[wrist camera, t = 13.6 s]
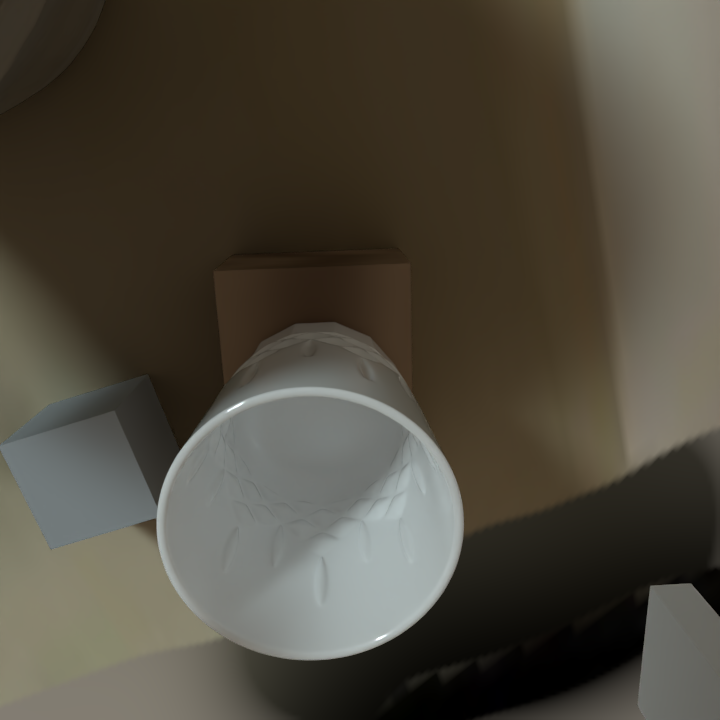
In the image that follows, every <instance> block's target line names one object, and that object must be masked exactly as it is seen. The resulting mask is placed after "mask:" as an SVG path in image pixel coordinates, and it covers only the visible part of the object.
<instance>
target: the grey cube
mask: <svg viewBox="0 0 720 720" xmlns="http://www.w3.org/2000/svg"><path fill="white" fill-rule="evenodd" d="M0 450H1V452H2V454H3V456H4V458H5V460H6V462H7V464H8V466H9V468H10V470H11V472H12V474H13V476H14V478H15V480H16V482H17V484H18V486H19V488H20V490H21V492H22V494H23V496H24V498H25V500H26V502H27V504H28V506H29V508H30V510H31V511H32V513H33V515H34V517H35V519H36V521H37V523H38V525H39V527H40V529H41V531H42V533H43V535H44V537H45V539H46V541H47V543H48V545H49V547H50V549H54V548H58V547H61V546H64V545H68V544H71V543H74V542H78V541H81V540H84V539H88V538H91V537H94V536H98V535H101V534H104V533H108V532H111V531H114V530H118V529H121V528H124V527H128V526H131V525H134V524H138V523H141V522H145V521H148V520H151V519H155V518H157V508H158V502H159V497H160V493H161V489H162V486H163V483H164V480H165V478H166V475H167V473H168V471H169V469H170V467H171V465H172V463H173V461H174V459H175V458H176V456H177V455H178V453H179V452H180V449H179V447H178V445H177V442H176V440H175V438H174V435H173V433H172V430H171V428H170V426H169V423H168V421H167V419H166V416H165V414H164V411H163V409H162V407H161V404H160V402H159V400H158V397H157V395H156V393H155V390H154V388H153V385H152V383H151V381H150V378H149V376H148V374H146V375H143V376H140V377H137V378H133V379H130V380H127V381H124V382H120V383H117V384H114V385H111V386H107V387H104V388H101V389H98V390H95V391H91V392H88V393H85V394H82V395H78V396H75V397H72V398H69V399H66V400H62V401H59V402H56V403H53V404H49V405H48V406H47V407H46V408H44V409H43V410H42V411H41V412H39V413H38V414H37V415H36V416H35V417H33V418H32V419H31V420H30V421H29V422H27V423H26V424H25V425H24V426H22V427H21V428H20V429H19V430H18V431H16V432H15V433H14V434H13V435H11V436H10V437H9V438H8V439H7V440H5V441H4V442H3V443H2V444H1V445H0Z"/></svg>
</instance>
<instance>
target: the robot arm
mask: <svg viewBox="0 0 720 720" xmlns="http://www.w3.org/2000/svg"><path fill="white" fill-rule="evenodd" d="M637 706H638V707H639V709H640V711H641V712H642V714H643V716H644V718H645V720H720V617H719V616H718V615H717V613H716V612H715V611H714V610H713V609H712V608H711V606H710V605H709V604H708V603H707V602H706V601H705V599H704V598H703V597H702V596H701V595H700V594H699V592H698V591H697V590H696V589H695V588H694V587H693V585H692V584H691V583H690V584H673V585H655V586H650V593H649V602H648V612H647V621H646V630H645V639H644V649H643V658H642V667H641V677H640V687H639V695H638V705H637Z"/></svg>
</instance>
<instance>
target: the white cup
mask: <svg viewBox="0 0 720 720" xmlns="http://www.w3.org/2000/svg"><path fill="white" fill-rule="evenodd" d="M463 535H464V511H463V504H462V498H461V494H460V490H459V487H458V484H457V481H456V478H455V476H454V473H453V471H452V469H451V467H450V465H449V463H448V461H447V459H446V457H445V455H444V453H443V451H442V449H441V447H440V446H439V444H438V442H437V440H436V438H435V436H434V434H433V432H432V430H431V428H430V426H429V424H428V422H427V420H426V418H425V415H424V413H423V411H422V409H421V408H420V406H419V404H418V402H417V400H416V399H415V397H414V395H413V394H412V392H411V390H410V388H409V386H408V385H407V383H406V382H405V380H404V379H403V377H402V376H401V374H400V373H399V371H398V370H397V368H396V366H395V364H394V363H393V362H392V361H391V360H390V358H389V357H388V356H387V355H386V354H385V353H384V352H383V351H382V349H381V348H380V347H379V346H378V345H377V344H376V343H375V342H374V340H373V339H372V338H371V337H370V336H367V335H365V334H363V333H360V332H358V331H355V330H353V329H351V328H348V327H346V326H343V325H341V324H339V323H336V322H319V323H296V324H294V325H292V326H290V327H288V328H286V329H284V330H282V331H280V332H278V333H277V334H275V335H273V336H271V337H269V338H267V339H265V340H263V341H262V342H261V343H260V344H259V345H258V347H257V348H256V349H255V351H254V352H253V354H252V355H251V356H250V358H249V359H248V360H247V361H245V362H244V363H243V364H242V365H241V366H240V367H239V368H238V369H237V370H236V372H235V373H234V375H233V376H232V377H231V378H230V380H229V381H228V382H227V383H226V384H225V385H224V387H223V389H222V390H221V392H220V393H219V395H218V396H217V398H216V399H215V400H214V402H213V403H212V405H211V406H210V408H209V409H208V411H207V412H206V414H205V415H204V417H203V418H202V420H201V421H200V423H199V424H198V426H197V427H196V429H195V430H194V431H193V433H192V434H191V436H190V437H189V439H188V440H187V442H186V443H185V445H184V446H183V447H182V449H181V450H180V452H179V453H178V455H177V456H176V458H175V459H174V461H173V463H172V465H171V467H170V469H169V471H168V473H167V475H166V478H165V480H164V483H163V486H162V489H161V493H160V497H159V502H158V508H157V540H158V546H159V551H160V555H161V559H162V562H163V565H164V567H165V570H166V572H167V575H168V577H169V579H170V581H171V583H172V585H173V586H174V588H175V590H176V591H177V593H178V594H179V596H180V597H181V599H182V600H183V601H184V603H185V604H186V605H187V606H188V607H189V608H190V610H191V611H192V612H193V613H194V614H195V615H196V616H197V617H198V618H199V619H201V620H202V621H203V622H204V623H205V624H206V625H208V626H209V627H210V628H211V629H213V630H214V631H216V632H217V633H219V634H220V635H222V636H223V637H225V638H227V639H228V640H230V641H232V642H234V643H236V644H239V645H240V646H243V647H245V648H248V649H250V650H253V651H256V652H259V653H262V654H266V655H270V656H274V657H279V658H285V659H294V660H325V659H334V658H340V657H346V656H350V655H354V654H358V653H361V652H364V651H367V650H370V649H372V648H375V647H377V646H379V645H381V644H384V643H386V642H387V641H390V640H391V639H393V638H394V637H397V636H398V635H400V634H401V633H403V632H404V631H406V630H407V629H408V628H410V627H411V626H412V625H414V624H415V623H416V622H417V621H418V620H419V619H421V617H423V616H424V615H425V614H426V613H427V612H428V611H429V609H430V608H431V607H432V606H433V605H434V604H435V603H436V601H437V600H438V599H439V597H440V596H441V595H442V593H443V591H444V590H445V588H446V587H447V585H448V583H449V581H450V579H451V577H452V575H453V573H454V571H455V568H456V566H457V563H458V560H459V556H460V552H461V548H462V543H463Z"/></svg>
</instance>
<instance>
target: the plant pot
mask: <svg viewBox="0 0 720 720" xmlns="http://www.w3.org/2000/svg"><path fill="white" fill-rule="evenodd" d="M104 2H105V0H0V114H2V113H4V112H6V111H8V110H9V109H11V108H13V107H15V106H16V105H18V104H20V103H21V102H23V101H24V100H26V99H27V98H29V97H30V96H32V95H34V94H35V93H37V92H38V91H40V90H41V89H43V88H44V87H46V86H47V85H48V84H49V83H50V82H52V81H53V80H54V79H55V78H56V77H57V76H58V75H59V74H61V73H62V72H63V71H64V70H65V69H66V68H67V67H68V66H69V65H70V64H71V62H72V61H73V60H74V59H75V57H76V56H77V55H78V53H79V52H80V51H81V49H82V48H83V46H84V45H85V43H86V42H87V40H88V38H89V37H90V35H91V33H92V32H93V30H94V28H95V25H96V23H97V21H98V19H99V16H100V13H101V11H102V8H103V5H104Z"/></svg>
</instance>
